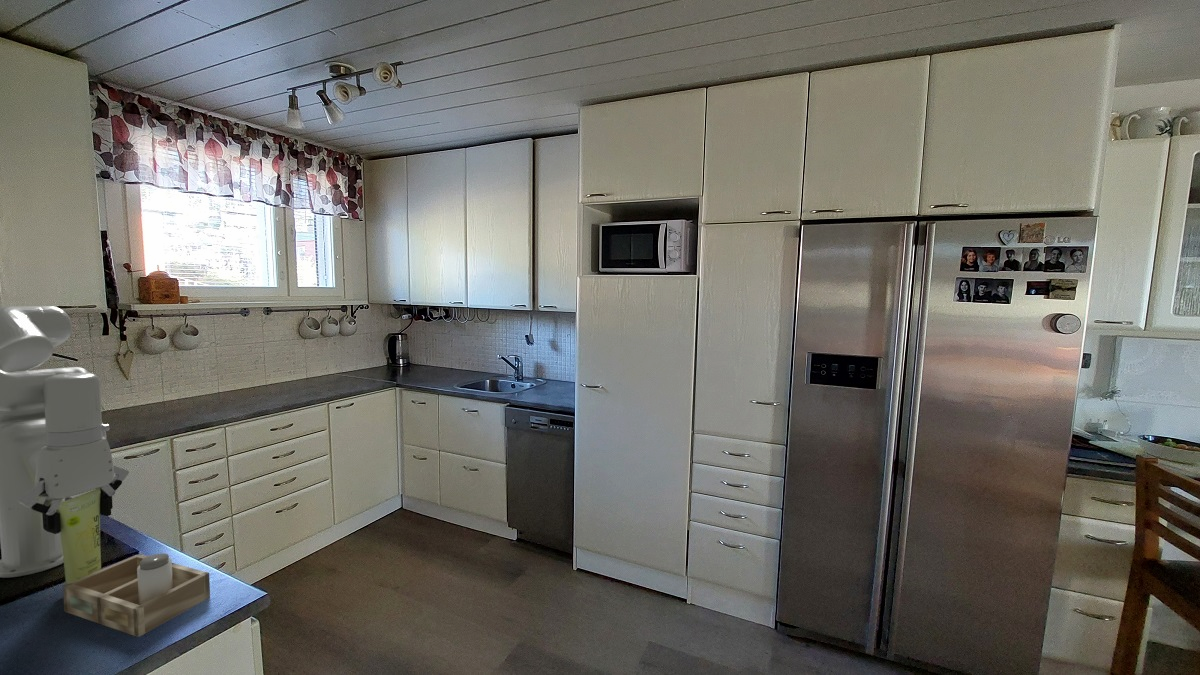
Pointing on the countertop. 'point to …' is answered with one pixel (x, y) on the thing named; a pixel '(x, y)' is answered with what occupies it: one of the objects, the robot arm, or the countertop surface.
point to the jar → (154, 577)
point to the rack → (133, 597)
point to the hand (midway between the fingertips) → (79, 522)
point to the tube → (80, 535)
